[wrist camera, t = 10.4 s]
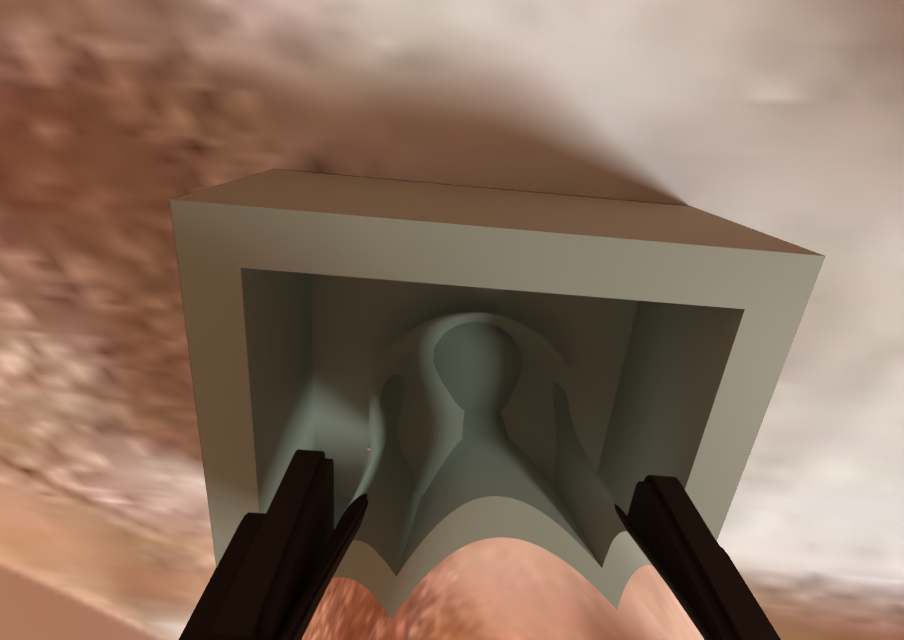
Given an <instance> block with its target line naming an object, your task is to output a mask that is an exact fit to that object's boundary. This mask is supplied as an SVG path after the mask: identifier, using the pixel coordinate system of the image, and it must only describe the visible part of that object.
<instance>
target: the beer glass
mask: <svg viewBox="0 0 904 640" xmlns="http://www.w3.org/2000/svg"><path fill="white" fill-rule="evenodd" d="M368 419H369V448H367V450H368V455H367V460H366V463H365V466H364V469H363V472H362V475H361V478H360V480H359V482H358V484H357V486H356V488H355V490H354V492H353V495H352V497H351V499H350V501H349V503H348V505H347V507H346V509H345V511H344V513H343V514H342V516H341V518H340V520H339V522H338V524H337V526H336V527H335V529H334V531H333V533H332V535H331V537H330V539H329V540H328V542H327V544H326V546H325V548H324V550H323V552H322V553H321V555H320V557H319V559H318V561H317V563H316V565H315V567H314V568H313V570H312V572H311V574H310V576H309V578H308V580H307V582H306V584H305V586H304V588H303V589H302V591H301V593H300V595H299V597H298V599H297V601H296V603H295V605H294V607H293V609H292V610H291V612H290V614H289V616H288V618H287V620H286V622H285V624H284V626H283V628H282V630H281V631H280V633H279V635H278V637H277V639H276V640H713V639H712V637H711V636H710V634H709V633H708V631H707V629H706V628H705V626H704V625H703V623H702V622H701V620H700V618H699V617H698V616H697V614H696V613H695V611H694V610H693V608H692V607H691V606H690V604H689V603H688V601H687V600H686V599H685V597H684V596H683V594H682V593H681V591H680V590H679V589H678V587H677V586H676V584H675V583H674V581H673V580H672V579H671V577H670V576H669V574H668V573H667V571H666V570H665V569H664V567H663V566H662V564H661V563H660V562H659V560H658V559H657V557H656V556H655V554H654V553H653V552H652V550H651V549H650V547H649V546H648V544H647V543H646V542H645V540H644V539H643V538H642V536H641V535H640V533H639V532H638V531H637V529H636V528H635V526H634V525H633V524H632V522H631V521H630V520H629V518H628V517H627V515H626V514H625V513H624V511H623V510H622V508H621V507H620V506H619V504H618V503H617V502H616V500H615V499H614V497H613V496H612V495H611V493H610V492H609V490H608V489H607V487H606V486H605V484H604V483H603V481H602V480H601V478H600V477H599V475H598V474H597V472H596V471H595V469H594V468H593V466H592V464H591V462H590V460H589V458H588V456H587V454H586V452H585V450H584V448H583V446H582V443H581V440H580V437H579V434H578V430H577V423H576V408H575V396H574V389H573V384H572V380H571V377H570V374H569V371H568V368H567V366H566V364H565V362H564V361H563V359H562V357H561V356H560V354H559V353H558V352H557V350H556V349H555V348H554V347H553V346H552V345H551V344H550V342H548V341H547V340H546V339H545V338H544V337H543V336H542V335H540V334H539V333H538V332H536V331H535V330H533V329H532V328H530V327H529V326H527V325H525V324H523V323H521V322H519V321H517V320H514V319H511V318H509V317H505V316H502V315H497V314H492V313H485V312H460V313H453V314H448V315H444V316H440V317H437V318H434V319H431V320H429V321H426V322H424V323H422V324H420V325H418V326H416V327H415V328H413V329H411V330H410V331H408V332H407V333H406V334H404V335H403V336H402V337H401V338H400V339H398V340H397V341H396V342H395V343H394V344H393V345H392V346H391V347H390V349H389V350H388V351H387V352H386V354H385V355H384V356H383V358H382V359H381V361H380V363H379V364H378V366H377V368H376V370H375V373H374V375H373V378H372V381H371V386H370V390H369V397H368Z"/></svg>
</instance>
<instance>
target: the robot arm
mask: <svg viewBox="0 0 904 640" xmlns="http://www.w3.org/2000/svg"><path fill="white" fill-rule="evenodd" d="M627 517H628V518H629V520H630V521H631V522H632V524H633V525H634V526H635V528H636V529H637V531H638V532H639V533H640V535H641V536H642V538H643V539H644V540H645V542H646V543H647V544H648V546H649V547H650V549H651V550H652V552H653V553H654V554H655V556H656V557H657V559H658V560H659V562H660V563H661V564H662V566H663V567H664V569H665V570H666V571H667V573H668V574H669V576H670V577H671V579H672V580H673V581H674V583H675V584H676V586H677V587H678V589H679V590H680V591H681V593H682V594H683V596H684V597H685V599H686V600H687V601H688V603H689V604H690V606H691V607H692V608H693V610H694V611H695V613H696V614H697V616H698V617H699V618H700V620H701V622H702V623H703V625H704V626H705V628H706V629H707V631H708V633H709V634H710V636H711V637H712V639H713V640H781V639H780V638H779V636H778V635H777V633H776V631H775V630H774V628H773V626H772V625H771V623H770V622H769V620H768V618H767V617H766V615H765V614H764V612H763V610H762V609H761V607H760V606H759V604H758V602H757V601H756V599H755V598H754V596H753V594H752V593H751V591H750V590H749V588H748V586H747V585H746V583H745V581H744V580H743V578H742V577H741V575H740V573H739V572H738V570H737V569H736V567H735V565H734V564H733V562H732V561H731V559H730V557H729V556H728V554H727V553H726V552H725V551H724V549H723V548H721V547H720V546H719V544H718V543H717V541H716V540H715V538H714V536H713V535H712V533H711V531H710V530H709V528H708V527H707V525H706V523H705V522H704V520H703V518H702V517H701V515H700V514H699V512H698V510H697V509H696V507H695V505H694V504H693V502H692V501H691V499H690V497H689V496H688V494H687V492H686V491H685V489H684V488H683V486H682V484H681V483H680V481H679V480H678V479H677V478H676V477H671V476H658V475H647V476H646V477H645V479H644V481H639V482H638V483H637V484H636V487H635V490H634V494H633V497H632V501H631V504H630V508H629V511H628V515H627ZM333 531H334V461H333V459H327V458H325V453H324V451H314V450H300V449H298V450H296V452H295V453H294V455H293V457H292V459H291V462H290V464H289V466H288V468H287V470H286V472H285V474H284V476H283V479H282V481H281V483H280V485H279V487H278V489H277V491H276V493H275V496H274V498H273V500H272V502H271V504H270V506H269V508H268V510H267V513H251V512H248V513H247V514H246V515H245V516H244V517H243V519H242V520H241V522H240V524H239V526H238V528H237V529H236V531H235V533H234V535H233V537H232V539H231V541H230V543H229V545H228V547H227V549H226V550H225V552H224V554H223V556H222V558H221V560H220V562H219V564H218V566H217V568H216V570H215V571H214V573H213V575H212V577H211V579H210V581H209V583H208V585H207V587H206V589H205V591H204V592H203V594H202V596H201V598H200V600H199V602H198V604H197V606H196V608H195V610H194V612H193V613H192V615H191V617H190V619H189V621H188V623H187V625H186V627H185V629H184V631H183V633H182V634H181V636H180V638H179V640H276V639H277V637H278V635H279V633H280V631H281V630H282V628H283V626H284V624H285V622H286V620H287V618H288V616H289V614H290V612H291V610H292V609H293V607H294V605H295V603H296V601H297V599H298V597H299V595H300V593H301V591H302V589H303V588H304V586H305V584H306V582H307V580H308V578H309V576H310V574H311V572H312V570H313V568H314V567H315V565H316V563H317V561H318V559H319V557H320V555H321V553H322V552H323V550H324V548H325V546H326V544H327V542H328V540H329V539H330V537H331V535H332V533H333Z"/></svg>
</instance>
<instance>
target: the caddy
mask: <svg viewBox="0 0 904 640" xmlns="http://www.w3.org/2000/svg"><path fill="white" fill-rule="evenodd" d="M170 207H171V215H172V223H173V230H174V238H175V246H176V254H177V262H178V270H179V278H180V285H181V293H182V301H183V309H184V317H185V325H186V333H187V341H188V348H189V356H190V364H191V372H192V380H193V388H194V396H195V404H196V411H197V419H198V427H199V435H200V443H201V451H202V459H203V467H204V474H205V482H206V490H207V498H208V506H209V514H210V522H211V530H212V537H213V545H214V553H215V561H216V568H217V566H218V564H219V562H220V560H221V558H222V556H223V554H224V552H225V550H226V549H227V547H228V545H229V543H230V541H231V539H232V537H233V535H234V533H235V531H236V529H237V528H238V526H239V524H240V522H241V520H242V519H243V517H244V516H245V515H246V514H247V513H248V512H251V513H267V510H268V508H269V506H270V504H271V502H272V500H273V498H274V496H275V493H276V491H277V489H278V487H279V485H280V483H281V481H282V479H283V476H284V474H285V472H286V470H287V468H288V466H289V464H290V462H291V459H292V457H293V455H294V453H295V452H296V450H298V449H300V450H314V451H324V453H325V458H327V459H333V461H334V529H335V527H336V526H337V524H338V522H339V520H340V518H341V516H342V514H343V513H344V511H345V509H346V507H347V505H348V503H349V501H350V499H351V497H352V495H353V492H354V490H355V488H356V486H357V484H358V482H359V480H360V478H361V475H362V472H363V469H364V466H365V463H366V460H367V455H368V450H367V448H369V419H368V397H369V390H370V386H371V381H372V378H373V375H374V373H375V370H376V368H377V366H378V364H379V363H380V361H381V359H382V358H383V356H384V355H385V354H386V352H387V351H388V350H389V349H390V347H391V346H392V345H393V344H394V343H395V342H396V341H397V340H398V339H400V338H401V337H402V336H403V335H404V334H406V333H407V332H408V331H410V330H411V329H413V328H415V327H416V326H418V325H420V324H422V323H424V322H426V321H429V320H431V319H434V318H437V317H440V316H444V315H448V314H453V313H460V312H485V313H492V314H497V315H502V316H505V317H509V318H511V319H514V320H517V321H519V322H521V323H523V324H525V325H527V326H529V327H530V328H532V329H533V330H535V331H536V332H538V333H539V334H540V335H542V336H543V337H544V338H545V339H546V340H547V341H548V342H550V344H551V345H552V346H553V347H554V348H555V349H556V350H557V352H558V353H559V354H560V356H561V357H562V359H563V361H564V362H565V364H566V366H567V368H568V371H569V374H570V377H571V380H572V384H573V389H574V396H575V408H576V423H577V430H578V434H579V437H580V440H581V443H582V446H583V448H584V450H585V452H586V454H587V456H588V458H589V460H590V462H591V464H592V466H593V468H594V469H595V471H596V472H597V474H598V475H599V477H600V478H601V480H602V481H603V483H604V484H605V486H606V487H607V489H608V490H609V492H610V493H611V495H612V496H613V497H614V499H615V500H616V502H617V503H618V504H619V506H620V507H621V508H622V510H623V511H624V513H625V514H626V515H628V511H629V508H630V504H631V501H632V497H633V494H634V490H635V487H636V484H637V483H638V482H639V481H644V479H645V477H646V476H647V475H658V476H671V477H676V478H677V479H678V480H679V481H680V483H681V484H682V486H683V488H684V489H685V491H686V492H687V494H688V496H689V497H690V499H691V501H692V502H693V504H694V505H695V507H696V509H697V510H698V512H699V514H700V515H701V517H702V518H703V520H704V522H705V523H706V525H707V527H708V528H709V530H710V531H711V533H712V535H713V536H714V538H715V540H716V541H717V539H718V536H719V533H720V531H721V528H722V525H723V523H724V520H725V518H726V515H727V512H728V510H729V507H730V505H731V502H732V499H733V497H734V494H735V491H736V489H737V486H738V484H739V481H740V478H741V476H742V473H743V470H744V468H745V465H746V463H747V460H748V457H749V455H750V452H751V449H752V447H753V444H754V442H755V439H756V436H757V434H758V431H759V429H760V426H761V423H762V421H763V418H764V415H765V413H766V410H767V408H768V405H769V402H770V400H771V397H772V394H773V392H774V389H775V387H776V384H777V381H778V379H779V376H780V373H781V371H782V368H783V366H784V363H785V360H786V358H787V355H788V352H789V350H790V347H791V345H792V342H793V339H794V337H795V334H796V332H797V329H798V326H799V324H800V321H801V318H802V316H803V313H804V311H805V308H806V305H807V303H808V300H809V297H810V295H811V292H812V290H813V287H814V284H815V282H816V279H817V276H818V274H819V271H820V269H821V266H822V263H823V261H824V258H825V256H824V255H821V254H818V253H815V252H813V251H810V250H807V249H805V248H802V247H799V246H797V245H794V244H791V243H789V242H786V241H783V240H780V239H778V238H775V237H772V236H770V235H767V234H764V233H762V232H759V231H756V230H753V229H751V228H748V227H745V226H743V225H740V224H737V223H735V222H732V221H729V220H726V219H724V218H721V217H718V216H716V215H713V214H710V213H708V212H705V211H702V210H699V209H697V208H694V207H691V206H683V205H672V204H661V203H649V202H638V201H627V200H616V199H604V198H593V197H582V196H571V195H559V194H548V193H537V192H526V191H514V190H503V189H492V188H481V187H469V186H458V185H447V184H436V183H425V182H413V181H402V180H391V179H380V178H368V177H357V176H346V175H335V174H323V173H312V172H301V171H290V170H278V169H273V170H270V171H266V172H263V173H259V174H256V175H252V176H249V177H245V178H242V179H239V180H235V181H232V182H228V183H225V184H221V185H218V186H214V187H211V188H208V189H204V190H201V191H197V192H194V193H190V194H187V195H183V196H180V197H176V198H173V199H170Z"/></svg>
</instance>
